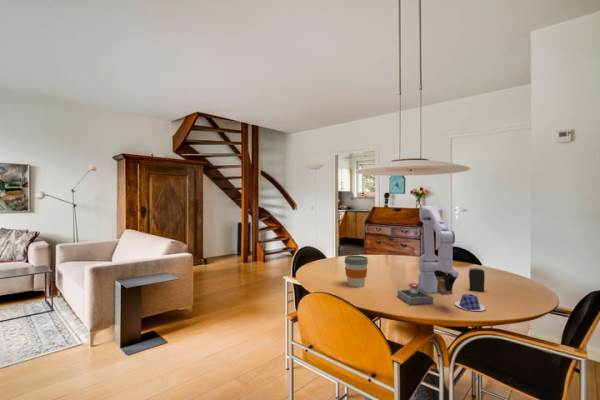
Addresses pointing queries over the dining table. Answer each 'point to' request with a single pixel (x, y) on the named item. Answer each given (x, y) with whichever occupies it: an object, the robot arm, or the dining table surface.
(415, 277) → the dining table surface
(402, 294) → the tray
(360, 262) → the reusable coffee cup
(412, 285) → the small red-capped bottle
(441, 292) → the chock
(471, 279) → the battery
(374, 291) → the dining table surface
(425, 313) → the dining table surface
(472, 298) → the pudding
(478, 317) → the dining table surface
